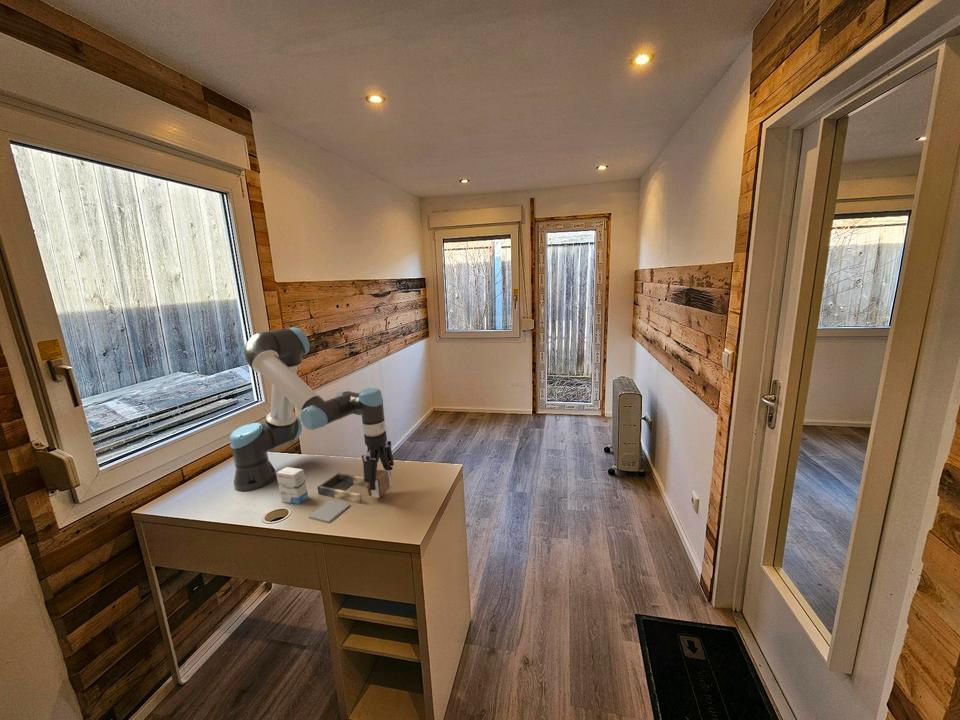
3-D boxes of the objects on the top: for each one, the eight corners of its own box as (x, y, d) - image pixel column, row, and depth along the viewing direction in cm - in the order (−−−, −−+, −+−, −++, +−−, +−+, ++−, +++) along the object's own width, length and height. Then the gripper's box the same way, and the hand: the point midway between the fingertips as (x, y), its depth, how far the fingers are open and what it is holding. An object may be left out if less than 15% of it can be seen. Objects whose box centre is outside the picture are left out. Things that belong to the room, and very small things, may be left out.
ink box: (309, 497, 141) (304, 468, 138) (299, 504, 136) (293, 475, 134) (291, 494, 144) (286, 466, 141) (280, 501, 139) (275, 472, 137)
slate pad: (308, 517, 128) (308, 516, 128) (330, 501, 137) (330, 500, 137) (328, 523, 124) (328, 521, 124) (350, 506, 133) (349, 504, 133)
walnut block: (368, 495, 135) (366, 478, 134) (377, 486, 141) (375, 469, 139) (381, 497, 134) (379, 479, 132) (389, 487, 140) (387, 470, 138)
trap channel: (318, 494, 142) (317, 486, 142) (339, 479, 152) (338, 472, 152) (360, 503, 135) (359, 495, 134) (379, 487, 144) (378, 480, 144)
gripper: (365, 445, 122) (373, 508, 127) (399, 423, 139) (405, 479, 144) (347, 442, 125) (355, 504, 130) (383, 421, 142) (389, 476, 147)
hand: (381, 491), depth 137 cm, fingers closed on walnut block, 6 cm apart
